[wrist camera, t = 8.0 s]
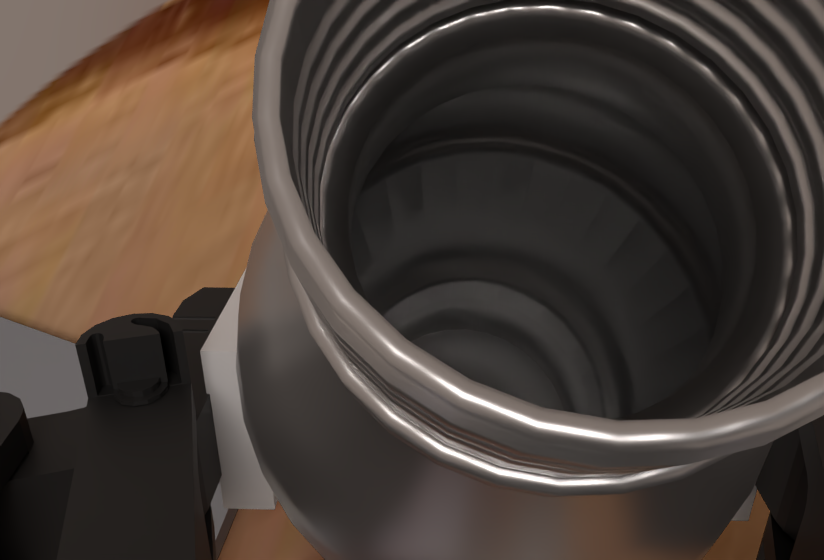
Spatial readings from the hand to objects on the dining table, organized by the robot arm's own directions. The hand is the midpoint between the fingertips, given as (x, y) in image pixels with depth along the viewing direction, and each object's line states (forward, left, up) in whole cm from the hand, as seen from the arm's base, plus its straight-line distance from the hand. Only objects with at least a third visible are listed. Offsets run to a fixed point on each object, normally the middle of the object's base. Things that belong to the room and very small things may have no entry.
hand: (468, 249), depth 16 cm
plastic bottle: (+2, +3, -9) cm, 9 cm away
